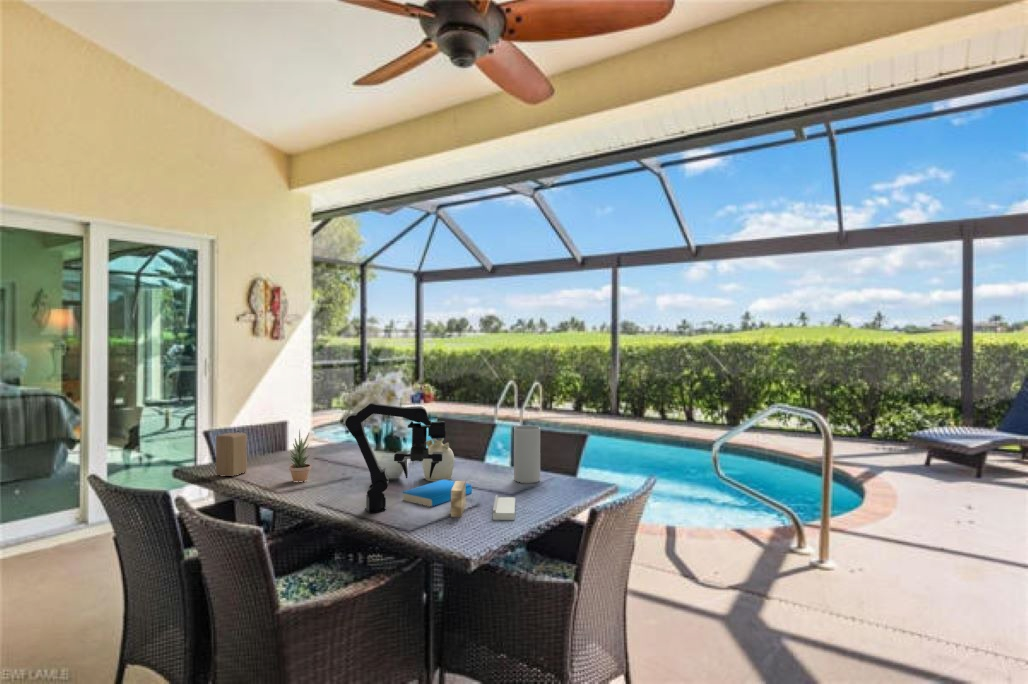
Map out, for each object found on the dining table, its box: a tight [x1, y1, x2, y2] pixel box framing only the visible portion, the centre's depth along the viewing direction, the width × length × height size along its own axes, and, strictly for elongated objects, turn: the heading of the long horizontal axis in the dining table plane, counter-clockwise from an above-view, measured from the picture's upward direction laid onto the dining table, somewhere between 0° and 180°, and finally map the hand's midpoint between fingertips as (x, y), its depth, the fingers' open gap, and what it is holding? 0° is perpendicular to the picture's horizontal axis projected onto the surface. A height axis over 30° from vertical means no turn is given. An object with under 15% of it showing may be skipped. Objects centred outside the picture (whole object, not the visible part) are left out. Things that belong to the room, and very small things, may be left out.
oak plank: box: [450, 480, 467, 518], centre depth 214 cm, size 4×14×10 cm, turn 179°
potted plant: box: [289, 428, 312, 482], centre depth 258 cm, size 10×10×25 cm
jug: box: [421, 438, 455, 483], centre depth 263 cm, size 15×16×25 cm
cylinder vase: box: [513, 425, 541, 484], centre depth 261 cm, size 12×12×25 cm
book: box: [402, 479, 473, 507], centre depth 234 cm, size 17×4×25 cm
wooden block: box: [215, 431, 248, 477], centre depth 270 cm, size 10×10×20 cm
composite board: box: [492, 494, 516, 521], centre depth 214 cm, size 8×20×4 cm, turn 179°
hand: (418, 478), depth 217 cm, fingers open, 9 cm apart
